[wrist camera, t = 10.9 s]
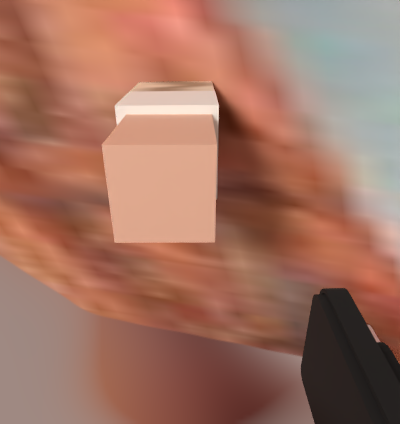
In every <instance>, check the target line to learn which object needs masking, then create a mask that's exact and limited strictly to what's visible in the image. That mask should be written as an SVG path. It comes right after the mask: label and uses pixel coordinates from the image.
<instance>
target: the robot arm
mask: <svg viewBox="0 0 400 424" xmlns="http://www.w3.org/2000/svg"><path fill="white" fill-rule="evenodd" d="M301 376H302V381H303V385H304V388H305V391H306V395H307V398H308V402H309V405H310V408H311V412H312V416H313V419H314V422H315V424H400V365H399V363H398V361H397V359H396V358H395V356H394V354H393V353H392V351H391V350H390V348H389V347H388V346H387V345H386V344H385V343H383V342H376V340H375V338H374V336H373V335H372V333H371V331H370V329H369V327H368V326H367V324H366V322H365V320H364V318H363V317H362V315H361V313H360V311H359V310H358V308H357V306H356V304H355V302H354V301H353V299H352V297H351V295H350V294H349V292H348V291H347V289H345V288H332V289H322V290H321V291H320V294H319V295H314V296H313V300H312V306H311V311H310V317H309V323H308V329H307V335H306V340H305V346H304V352H303V358H302V364H301Z"/></svg>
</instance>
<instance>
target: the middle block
mask: <svg viewBox="0 0 400 424" xmlns="http://www.w3.org/2000/svg"><path fill="white" fill-rule="evenodd" d="M115 112H116V121H117V125H118V124H119V123H120V122H121V120H122V119H123V118H124V117H125V115H126V114H212V117H213V123H214V129H215V135H216V141H217V172H216V199H217V183H218V126H219V104H218V100H217V96H216V92H215V91H129V92H128V93H127V94H126V95H125V96H124V97H123V98H122V99H121V100H120V101H119V102H118V103H117V104H116V105H115Z"/></svg>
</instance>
